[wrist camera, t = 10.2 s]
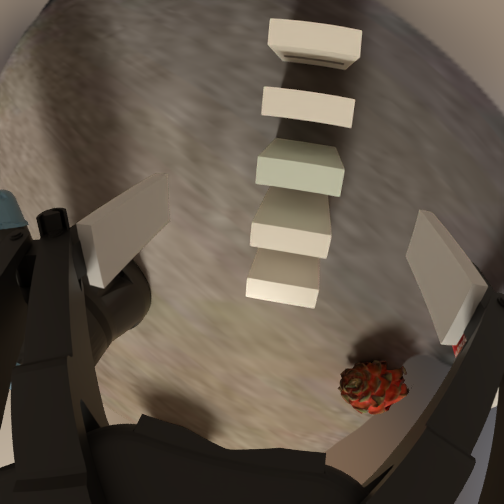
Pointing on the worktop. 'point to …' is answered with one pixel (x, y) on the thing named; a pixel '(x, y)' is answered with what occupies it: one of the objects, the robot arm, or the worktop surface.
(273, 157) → the domino
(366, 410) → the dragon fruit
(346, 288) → the worktop surface
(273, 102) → the domino
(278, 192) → the domino
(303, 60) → the domino
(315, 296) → the domino
